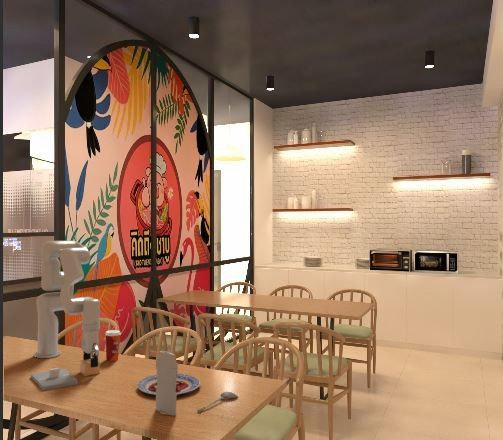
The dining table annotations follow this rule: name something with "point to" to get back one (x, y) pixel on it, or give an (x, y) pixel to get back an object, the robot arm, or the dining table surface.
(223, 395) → the soupspoon
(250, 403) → the dining table surface
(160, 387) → the tall pale column
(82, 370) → the tan slotted block
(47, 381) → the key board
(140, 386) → the ceramic plate
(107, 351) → the paper cup
